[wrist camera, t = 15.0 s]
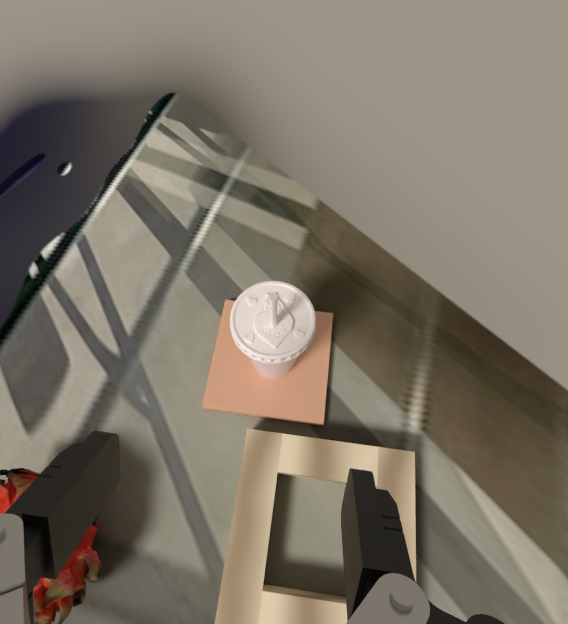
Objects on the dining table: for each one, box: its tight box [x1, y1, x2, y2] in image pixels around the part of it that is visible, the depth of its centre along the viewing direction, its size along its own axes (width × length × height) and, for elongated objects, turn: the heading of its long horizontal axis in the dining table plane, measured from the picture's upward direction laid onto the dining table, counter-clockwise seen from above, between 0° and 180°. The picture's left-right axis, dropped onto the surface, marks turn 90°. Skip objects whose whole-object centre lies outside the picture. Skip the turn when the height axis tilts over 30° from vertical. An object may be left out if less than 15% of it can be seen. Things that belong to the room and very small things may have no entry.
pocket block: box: [215, 429, 416, 624], centre depth 31 cm, size 14×14×2 cm
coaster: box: [202, 300, 333, 426], centre depth 38 cm, size 11×11×1 cm
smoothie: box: [230, 281, 316, 379], centre depth 31 cm, size 6×6×14 cm
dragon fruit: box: [0, 468, 102, 624], centre depth 29 cm, size 8×8×12 cm
